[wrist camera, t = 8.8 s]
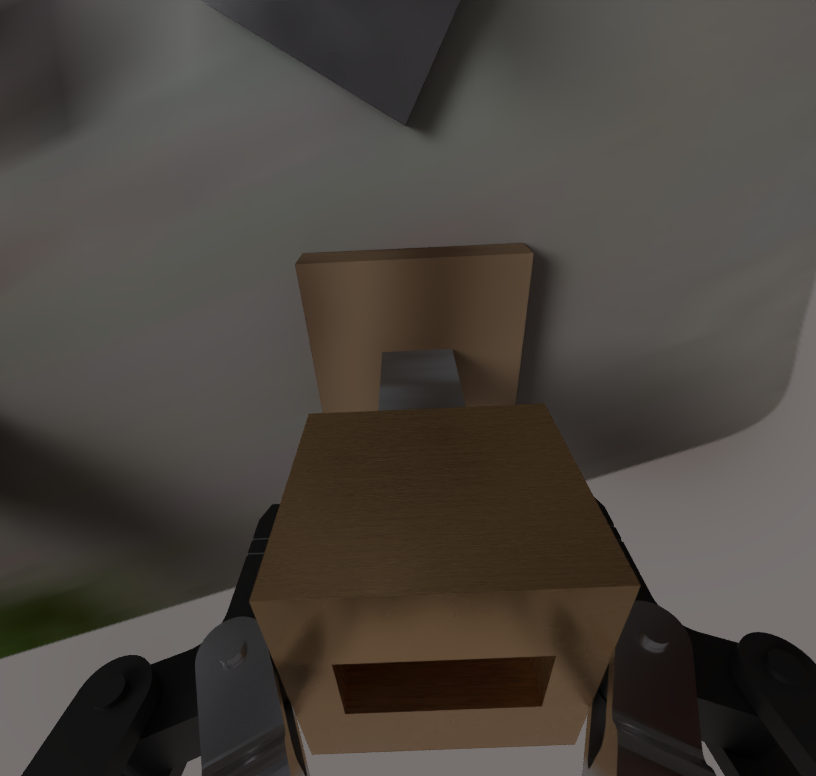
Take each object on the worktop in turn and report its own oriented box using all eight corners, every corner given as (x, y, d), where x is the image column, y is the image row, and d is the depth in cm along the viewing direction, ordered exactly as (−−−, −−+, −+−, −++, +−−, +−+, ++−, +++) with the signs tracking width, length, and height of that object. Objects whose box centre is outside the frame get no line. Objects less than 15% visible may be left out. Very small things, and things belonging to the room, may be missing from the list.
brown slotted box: (338, 562, 14) (312, 754, 10) (308, 413, 11) (248, 601, 6) (520, 555, 14) (574, 744, 10) (544, 403, 11) (640, 586, 6)
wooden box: (333, 427, 22) (309, 540, 16) (302, 253, 17) (252, 325, 11) (504, 419, 22) (543, 530, 16) (523, 242, 17) (589, 309, 11)
